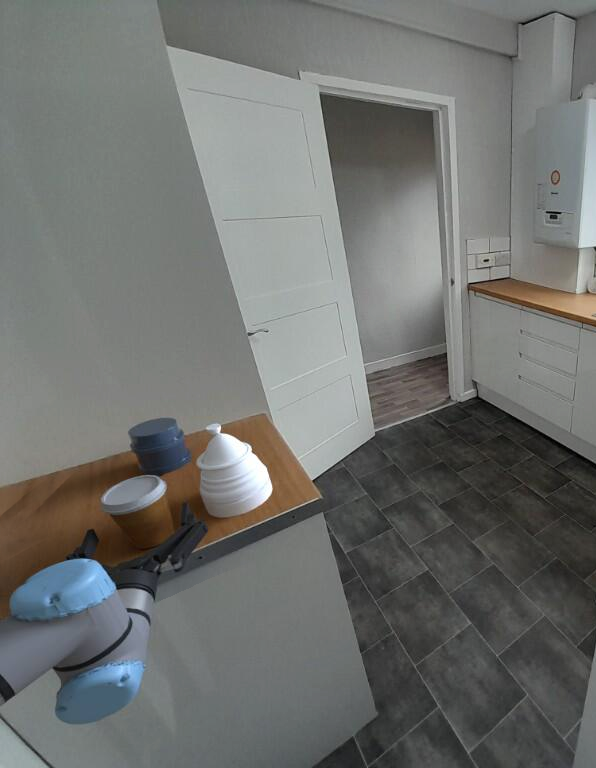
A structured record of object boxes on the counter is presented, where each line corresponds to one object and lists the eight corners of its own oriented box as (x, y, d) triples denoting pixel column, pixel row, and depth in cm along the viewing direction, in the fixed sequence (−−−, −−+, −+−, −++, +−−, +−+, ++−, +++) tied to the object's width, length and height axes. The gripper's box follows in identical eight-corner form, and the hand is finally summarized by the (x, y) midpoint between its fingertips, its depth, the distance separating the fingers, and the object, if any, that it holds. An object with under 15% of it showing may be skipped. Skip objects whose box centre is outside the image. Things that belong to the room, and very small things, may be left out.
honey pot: (196, 501, 91) (168, 433, 83) (255, 472, 101) (235, 408, 93) (222, 526, 85) (194, 454, 77) (283, 492, 94) (264, 426, 86)
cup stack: (132, 479, 98) (115, 440, 93) (152, 456, 107) (137, 419, 102) (183, 472, 101) (169, 433, 96) (198, 450, 110) (186, 414, 106)
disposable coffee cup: (112, 547, 79) (85, 499, 74) (164, 514, 87) (143, 468, 82) (144, 561, 76) (118, 512, 71) (195, 526, 84) (175, 479, 79)
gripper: (11, 669, 56) (58, 563, 72) (227, 586, 68) (226, 512, 85) (-17, 633, 53) (39, 531, 69) (215, 553, 65) (216, 482, 82)
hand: (142, 520), depth 77 cm, fingers open, 13 cm apart
